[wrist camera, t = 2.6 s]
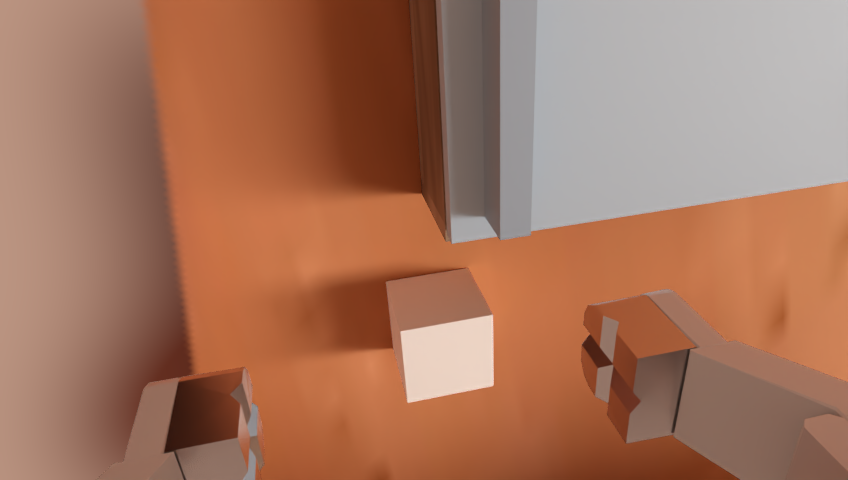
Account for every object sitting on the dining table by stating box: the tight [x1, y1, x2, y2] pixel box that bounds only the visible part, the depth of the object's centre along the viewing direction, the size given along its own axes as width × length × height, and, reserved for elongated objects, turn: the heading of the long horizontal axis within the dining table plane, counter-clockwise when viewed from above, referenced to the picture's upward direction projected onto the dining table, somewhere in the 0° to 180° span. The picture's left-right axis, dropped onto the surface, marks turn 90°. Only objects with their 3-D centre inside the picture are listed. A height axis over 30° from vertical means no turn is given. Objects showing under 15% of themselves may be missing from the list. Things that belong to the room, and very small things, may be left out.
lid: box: [436, 0, 848, 244], centre depth 23 cm, size 20×11×3 cm, turn 94°
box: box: [409, 0, 450, 242], centre depth 27 cm, size 20×12×5 cm, turn 94°
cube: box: [386, 268, 494, 403], centre depth 32 cm, size 4×4×4 cm
